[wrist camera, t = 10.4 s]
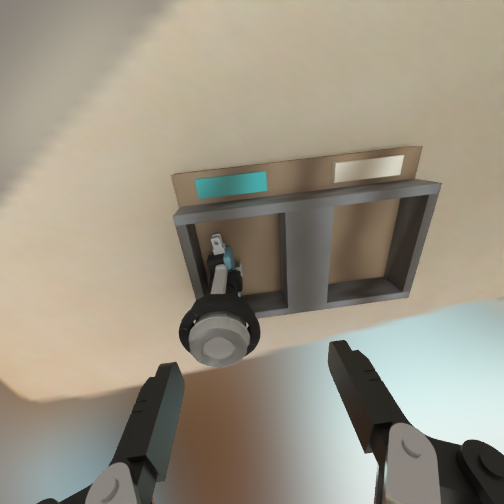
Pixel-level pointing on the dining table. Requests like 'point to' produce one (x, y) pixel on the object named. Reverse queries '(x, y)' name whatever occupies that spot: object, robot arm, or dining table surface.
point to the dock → (262, 230)
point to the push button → (220, 315)
